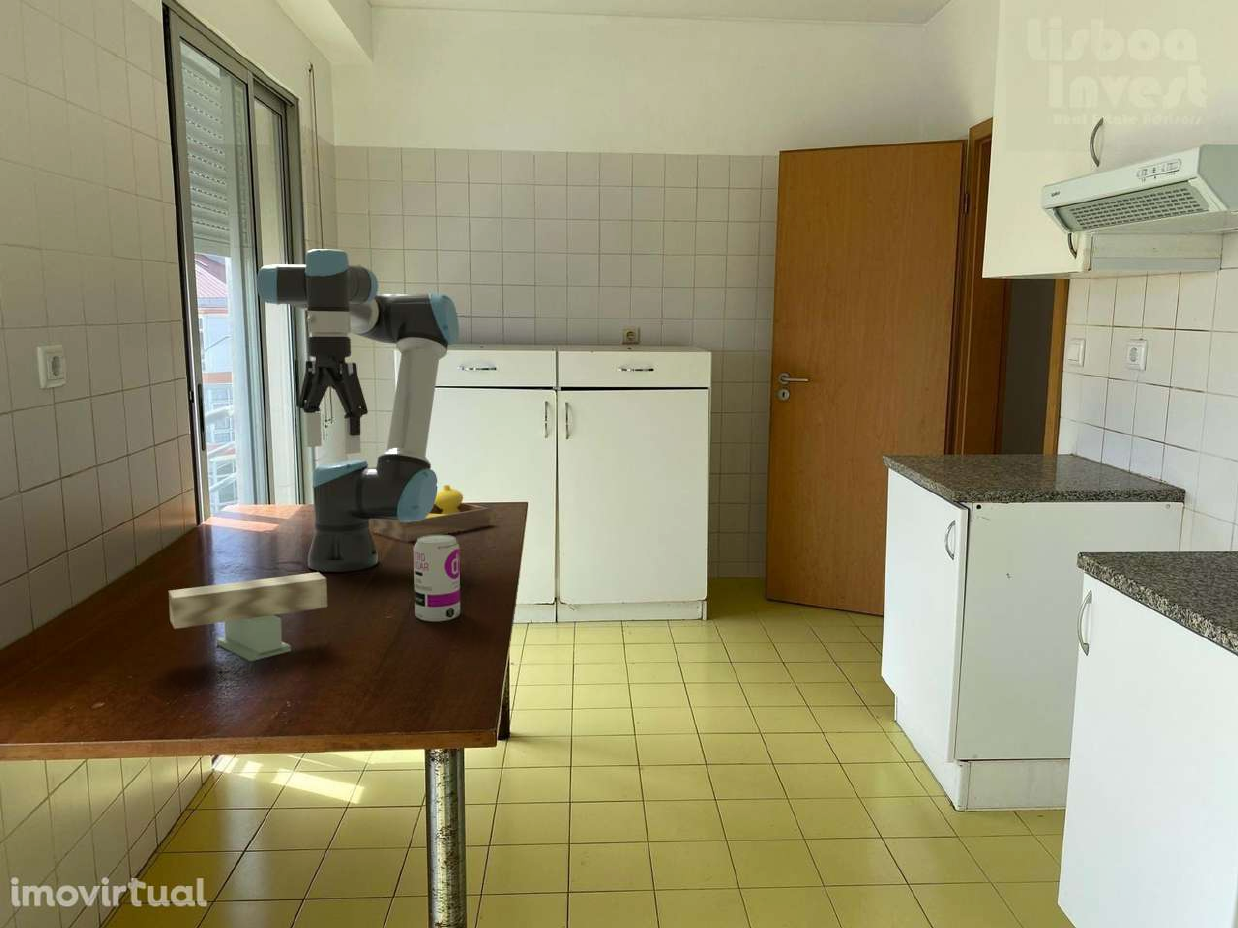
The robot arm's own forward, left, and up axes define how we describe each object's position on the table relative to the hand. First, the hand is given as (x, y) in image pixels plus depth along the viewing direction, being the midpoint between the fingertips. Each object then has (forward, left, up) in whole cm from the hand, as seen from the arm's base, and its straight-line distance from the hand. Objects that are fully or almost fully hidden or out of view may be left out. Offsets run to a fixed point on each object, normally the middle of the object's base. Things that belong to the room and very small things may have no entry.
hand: (333, 449), depth 180 cm
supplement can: (+18, +10, -31) cm, 37 cm away
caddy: (-43, +53, -31) cm, 75 cm away
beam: (+10, -22, -25) cm, 35 cm away
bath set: (-45, +57, -31) cm, 79 cm away
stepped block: (+10, -22, -31) cm, 39 cm away
